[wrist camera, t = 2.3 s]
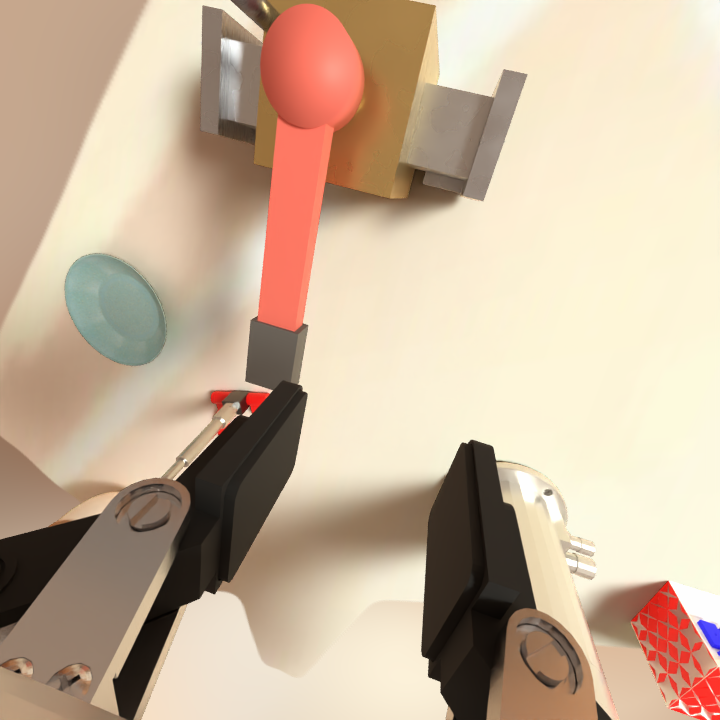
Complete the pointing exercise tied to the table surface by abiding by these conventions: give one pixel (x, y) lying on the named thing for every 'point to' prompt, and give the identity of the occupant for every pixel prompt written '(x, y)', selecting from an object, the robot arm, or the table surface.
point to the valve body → (366, 100)
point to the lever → (298, 174)
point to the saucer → (115, 309)
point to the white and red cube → (683, 648)
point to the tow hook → (217, 423)
